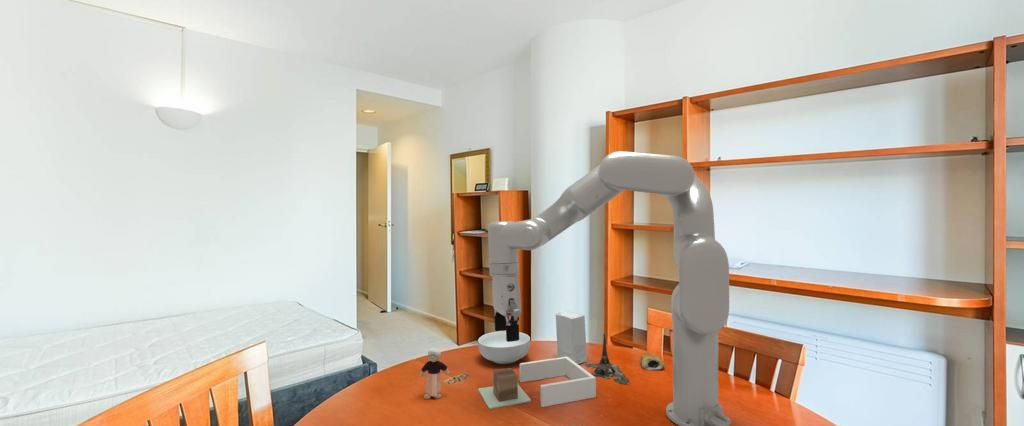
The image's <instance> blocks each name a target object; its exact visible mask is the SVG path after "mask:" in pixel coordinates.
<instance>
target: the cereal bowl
mask: <svg viewBox="0 0 1024 426" xmlns="http://www.w3.org/2000/svg"><path fill="white" fill-rule="evenodd" d="M477 340H478V341H477V344H478V345H477V346H478V350H479V352H480V354H481V355H482V357H483V358H484V359H486V360H488V361H491V362H493V363H495V364H498V365H511V364H513V363H516V362H517V361H518V360H520V359H522V358H524V357H526V355H527V353H529V350H530V347H531V336H529V335H528V334H527V333H524V332H520V331H519V340H518V341H512V342H507V341H506V330H503V331H493V332H488V333H485V334H483V335H481V336H480V337H479V338H478V339H477Z"/></svg>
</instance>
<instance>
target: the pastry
mask: <svg viewBox="0 0 1024 426" xmlns="http://www.w3.org/2000/svg"><path fill="white" fill-rule="evenodd" d="M639 361H640V363H641V367H642V369H643V370H647V371H662V370H663V369H664V366H665V363H664V361H663V360H662V358H661V357H660V356H659V355H657V354H654V353H649V352H646V353H645V352H644V353H642V355H641V356H640V358H639Z"/></svg>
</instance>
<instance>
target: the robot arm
mask: <svg viewBox="0 0 1024 426" xmlns="http://www.w3.org/2000/svg"><path fill="white" fill-rule="evenodd" d="M625 191H632V192H641V193H649V194H657V195H659V196H662V197H664V198H666V199H667V200H668V201H669V204H670V206H671V210H672V216H673V219H672V221H673V253H672V257H673V258H672V259H673V261H674V264H675V266H676V267H677V268H678V284H676V286H675V288H674V289H673V291H672V294H671V299H670V310H671V322H672V323H671V324H672V325H671V326H672V396H673V397H672V402H669V403H668V404H667V405H666V408H665V411H666V416H667V417H668V419H669V420H670V421H672V423H675V424H676V425H678V426H730V425H731V423H732V419H731V418H729V417H728V416H726V415H725V413H723V405H721V404H719V333H718V332H719V331H721V330H722V329H723V328H724V326H725V325H726V324H727V321H728V319H729V316H730V315H729V313H730V264H729V258H728V255H727V251H726V250H725V248H724V247H723V245H722V244H721V243H720V242H718V240H716V237H715V236H716V234H715V218H714V217H715V215H714V213H715V212H714V204H713V199H712V197H711V194H710V192H709V190H708V188H707V187H706V185H705V184H704V183H703V182H702V181H701V180H700V179H699V177H698V176H696V175H695V169H694V167H693V166H692V164H691V163H690V162H689V161H688V160H687V159H685V158H683V157H681V156H678V155H673V154H671V155H670V154H662V153H661V154H660V153H659V154H658V153H648V152H647V153H646V152H635V151H626V150H620V151H619V150H618V151H613V152H610V153H609V154H607V155H606V156H605V157H604V158H603V159H602V161H601V163H600V164H598V165H597V166H596V167H594V168H593V169H592V170H590V171H589V172H588V173H586V174H585V175H584V176H582V177H581V178H580V179H578V180H576V181H575V182H574V183H572V184H571V185H569V186H568V187H566V189H565V190H564V191H562V193H561V195H560V196H559V198H558V199H556V200H555V202H554V203H552V204H551V205H550V206H549V207H547V208H546V209H545V210H543V211H541V213H539V214H537V215H536V216H535V217H533V218H532V219H525V220H520V221H511V220H508V221H507V220H504V221H503V220H501V221H500V220H499V221H492V222H490V223H489V224H488V228H487V237H488V240H487V241H488V260H489V263H488V265H489V267H488V268H489V276H490V277H492V285H491V286H492V290H491V291H492V293H491V294H492V305H493V309H494V311H493V315H494V317H493V318H494V332H498V331H506V341H507V342H512V341H518V340H519V332H520V316H519V315H521V314H522V300H521V290H520V289H521V288H520V282H519V281H520V280H519V276H518V275H520V272H519V269H520V265H519V250H524V251H533V250H536V249H538V248H540V247H542V246H544V245H546V244H547V243H548V242H550V241H551V240H553V239H554V238H555V237H557V236H558V235H560V234H561V233H564V231H566V230H567V229H569V228H570V227H572V226H573V225H574V224H576V223H578V222H581V221H582V220H584V219H586V218H587V217H589V215H591V214H592V213H595V212H596V211H597V210H598V209H599V208H601V207H603V206H604V205H605V204H607V203H608V202H610V201H611V200H612V199H615V198H616V197H617V196H619V195H620V194H621V193H623V192H625Z"/></svg>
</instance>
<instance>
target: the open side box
mask: <svg viewBox="0 0 1024 426" xmlns="http://www.w3.org/2000/svg"><path fill="white" fill-rule="evenodd" d="M563 376H565V377H568V378H569V380H563V381H557V382H551V383H545V384H540V406H541V407H542V408H545V407H550V406H557V405H561V404H566V403H572V402H576V401H582V400H588V399H594V398H596V397H597V389H596V387H597V383H596V382H597V379H596V378H597V377H594V376H593V374H592V373H590V372H589V371H587V370H586V369H585V368H583V367H582V366H581V365H579V364H577V363H575V362H574V361H573V360H571V359H570V358H568V357H560V358H558V357H556V358H554V357H553V358H547V359H540V360H533V361H526V362H520V363H519V382H520V383H526V382H531V381H538V380H543V379H544V380H545V379H550V378H551V379H552V378H556V377H563Z"/></svg>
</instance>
